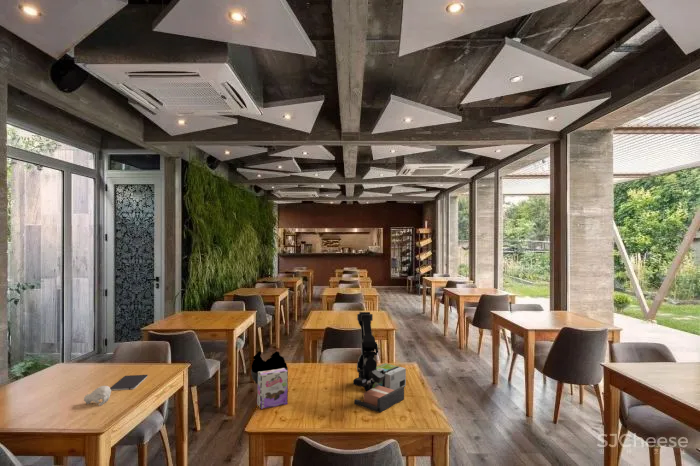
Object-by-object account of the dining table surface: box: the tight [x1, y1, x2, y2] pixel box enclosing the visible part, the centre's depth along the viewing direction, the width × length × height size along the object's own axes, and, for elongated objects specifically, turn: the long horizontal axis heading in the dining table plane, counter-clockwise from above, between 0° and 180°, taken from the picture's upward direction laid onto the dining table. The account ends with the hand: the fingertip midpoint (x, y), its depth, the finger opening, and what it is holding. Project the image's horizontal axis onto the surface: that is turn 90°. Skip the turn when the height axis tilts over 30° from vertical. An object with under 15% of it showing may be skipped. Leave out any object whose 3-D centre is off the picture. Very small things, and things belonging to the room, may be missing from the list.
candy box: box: [256, 368, 289, 410], centre depth 193 cm, size 14×6×16 cm, turn 117°
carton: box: [363, 386, 394, 406], centre depth 197 cm, size 10×13×5 cm
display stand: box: [353, 386, 405, 414], centre depth 197 cm, size 16×21×6 cm
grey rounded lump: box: [83, 385, 112, 407], centre depth 194 cm, size 6×8×12 cm
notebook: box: [110, 374, 148, 392], centre depth 222 cm, size 13×2×21 cm
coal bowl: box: [250, 350, 289, 386], centre depth 217 cm, size 20×20×19 cm
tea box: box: [372, 362, 407, 390], centre depth 218 cm, size 15×10×15 cm
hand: (368, 395), depth 201 cm, fingers closed, pressing on carton
